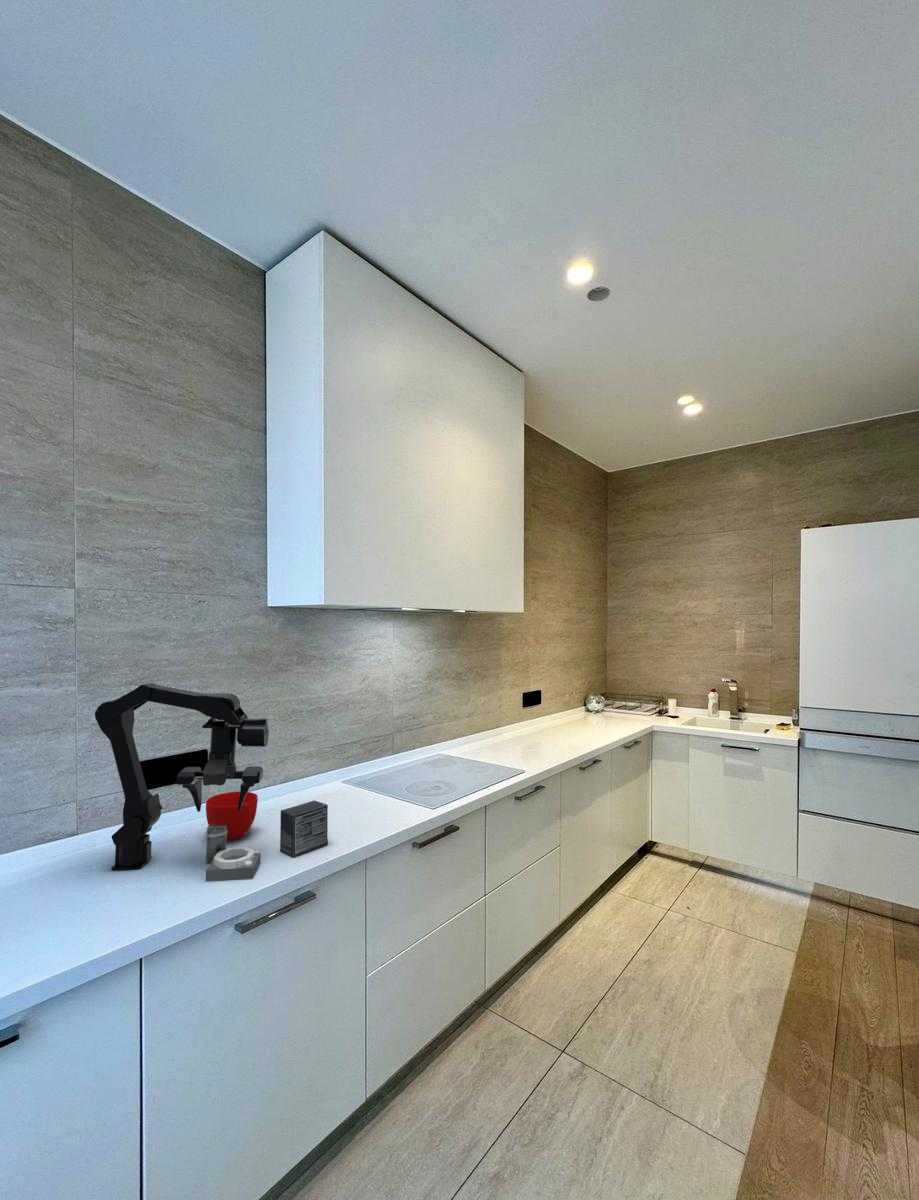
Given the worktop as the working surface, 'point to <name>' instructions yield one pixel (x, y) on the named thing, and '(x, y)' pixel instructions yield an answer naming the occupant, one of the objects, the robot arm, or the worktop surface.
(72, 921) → the worktop surface
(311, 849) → the small box
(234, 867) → the camera body mount
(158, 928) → the worktop surface
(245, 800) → the ceramic cup
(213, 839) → the lens
